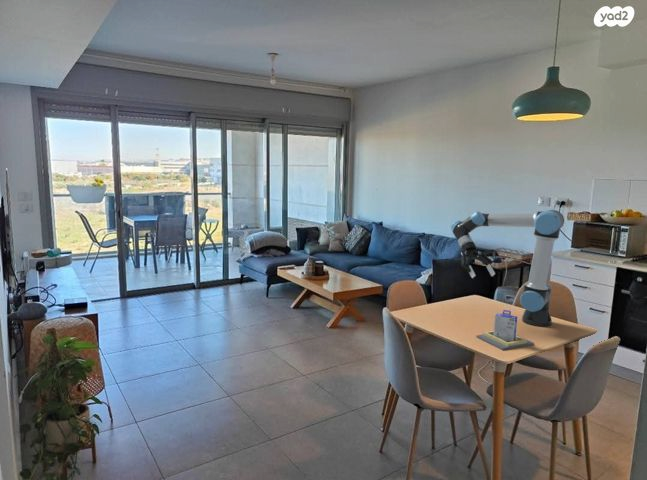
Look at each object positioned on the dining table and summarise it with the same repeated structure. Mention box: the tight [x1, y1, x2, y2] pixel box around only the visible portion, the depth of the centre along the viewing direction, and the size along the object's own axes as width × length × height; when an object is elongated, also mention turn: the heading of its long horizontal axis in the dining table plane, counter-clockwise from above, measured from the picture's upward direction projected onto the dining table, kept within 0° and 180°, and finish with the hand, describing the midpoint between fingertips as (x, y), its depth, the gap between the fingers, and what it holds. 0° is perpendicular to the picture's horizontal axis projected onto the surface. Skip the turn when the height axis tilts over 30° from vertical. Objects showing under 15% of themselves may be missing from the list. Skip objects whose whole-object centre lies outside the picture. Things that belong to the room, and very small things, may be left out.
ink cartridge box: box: [493, 309, 518, 342], centre depth 221 cm, size 10×6×14 cm, turn 56°
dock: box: [475, 330, 535, 351], centre depth 222 cm, size 20×18×2 cm
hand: (483, 276), depth 242 cm, fingers open, 13 cm apart
